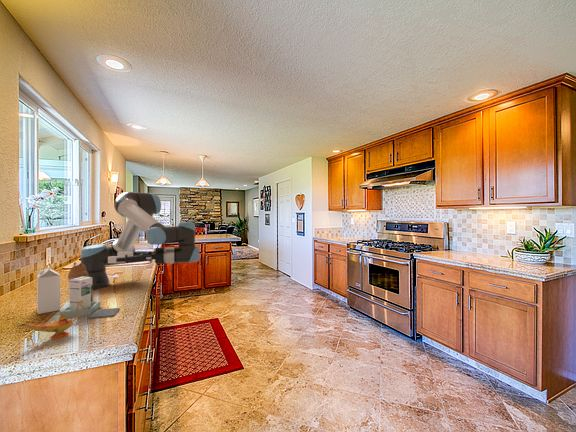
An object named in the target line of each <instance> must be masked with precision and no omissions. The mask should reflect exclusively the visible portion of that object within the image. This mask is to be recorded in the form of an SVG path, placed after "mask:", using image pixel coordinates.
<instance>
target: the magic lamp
mask: <svg viewBox="0 0 576 432" xmlns="http://www.w3.org/2000/svg"><path fill="white" fill-rule="evenodd" d="M82 300H83V299H82ZM82 300H81V301H80V302H79V301H78V302H79V304H78V302H77V304H78V305H80V306H81V307H83V306H82V305H81V302H82V303H83V301H82ZM77 307H78V308H79V306H77ZM78 308H77V310H76V311H77V312H78ZM83 308H84V309H85V307H83ZM85 311H86V309H85ZM85 311H84V312H83V313H82V314H81V315H83V314H84V313H85ZM77 312H75V314H74V315H76V314H77ZM74 315H73V317H69V316H65V314H64V313H63V314H62V316H61V317H60V316H59V318H57V320H55V321H51V322H49V323H43V324H32V323H31V324H28V323H23V324H22V323H21V324H18V325H16V327H24V328H27V329H29V330H33V331H38V332H43V333H46V332H47V333H54V334H52V335H51V336H50V337H49V338H50V339H51V340H57V339H62V338H66V337H68V336H70V333H69V332H68V331H67V332H66V330H67V329H69V328H71V326H76V325H78V323H79V322H78V321H77V322H76V324H74V321H76V320H77V319H79V318H80V317H82V316H81V315H80V316H76V318H74ZM73 318H74V319H73ZM72 319H73V320H72Z"/></svg>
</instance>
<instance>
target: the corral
mask: <svg viewBox="0 0 576 432" xmlns="http://www.w3.org/2000/svg"><path fill="white" fill-rule="evenodd" d="M100 307H101V301H100V300H99V301H95V300H94V301H93V306H92V307H91V308H90V309H86V311H85V309H79V310H78V312H77V311H76V310H70V304H68V305H67V306H65V307H64V308H63V309H62V310H59V318H60V317H61V316H62V314H63V313H64V314H65V316H69V317H68V318H71V317H73V315H74V314H75V312H77V314H76V315H74V317H78V316H80V315H81V314H82V313H83V312H84V311H85V313H84V314H83V315H81V316H80V317H85V316H87V317H88V316H89V315H91V314H92V313H93V312H94V311H95V310H98V309H100ZM74 317H73V318H74Z"/></svg>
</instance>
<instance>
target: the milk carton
mask: <svg viewBox="0 0 576 432" xmlns="http://www.w3.org/2000/svg"><path fill="white" fill-rule="evenodd" d="M36 281H37V282H36V312H37V315H40V314H46V313H52V312H57V311H61V275H60V273H59V272H57V271H55V270H54V269H52V268H51V267H50V266H49V264H48V265H47V267H46V268H45V269H43V268H42V269H41V270H39V271H38V273H37V276H36Z"/></svg>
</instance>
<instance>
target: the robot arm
mask: <svg viewBox="0 0 576 432" xmlns="http://www.w3.org/2000/svg"><path fill="white" fill-rule="evenodd" d="M113 206H114V210H115V212H116V213H117V214H119V216H121V217H122V218H127V221H126V223H125V225H124V227H123V228H122V231H121V233H120V235H119V237H118V239H116V240H114V241H113V242H112V244H111V245H106V244H104V243H100V244H99V243H98V244H91V245H87V246H84V247H82V248H81V251H80V263H83V264H84V265H85V266H86V271H87V272H88V277H92V289H93V290H97V289H102V288H105V287H108V286H110V279H109V276H108V274H107V271H106V270H107V269H106V268H107V267H109V266H116V265H117V266H119V265H126V264H132V263H140V262H151V261H153V260H154V263H155V264H156V265H161V264H162V265H163V264H170V265H173V264H180V263H181V264H183V263H184V264H185V263H186V264H187V263H189V264H190V263H196V262H198V261H199V260H200V246H197V245H196V242H195V241H196V226H195V224H196V223H194V222H193V221H181V222H178V225H177V226H174V225H173V226H165V225H163V224H162V223H161V222H160V221H158V219H156V218H155V217H153V215H158V214H159V213H160V212H161V210H162V202H161V198H160V197H159V195H157V194H156V193H151V192H148V193H147V192H137V191H125V192H122V193H120V194H118V196H116V197H115V199H114V203H113ZM142 231H143V232H144V233H145V238H146V240H147V243H148V244H149V245H154V246H155V245H156V246H157V245H158V246H159V245H166V244H176V243H177V244H178V246H167V247H156V248H155V250H154V251H143V250H140V251H139V250H137V251H136V248H135V246H134V244H135V242H136V240H137V239H138V237H139V235H140V233H141V232H142Z"/></svg>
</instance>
